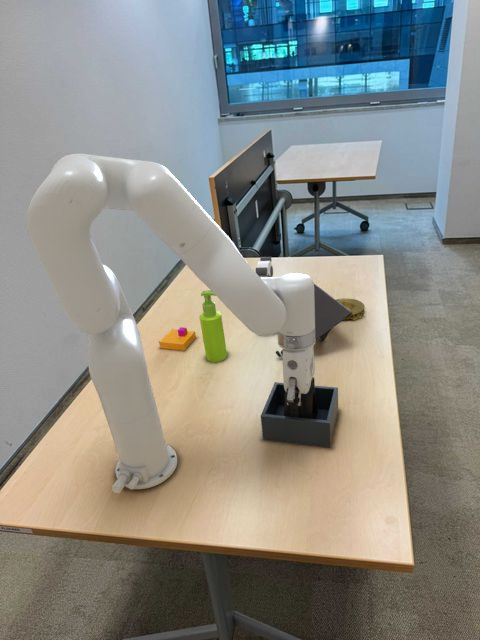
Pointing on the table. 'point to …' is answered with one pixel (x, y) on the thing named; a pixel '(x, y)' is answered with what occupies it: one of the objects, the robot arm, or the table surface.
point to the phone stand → (306, 402)
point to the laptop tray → (325, 314)
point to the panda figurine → (264, 268)
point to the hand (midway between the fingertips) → (299, 405)
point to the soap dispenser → (212, 330)
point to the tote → (300, 419)
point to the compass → (353, 307)
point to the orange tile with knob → (178, 339)
